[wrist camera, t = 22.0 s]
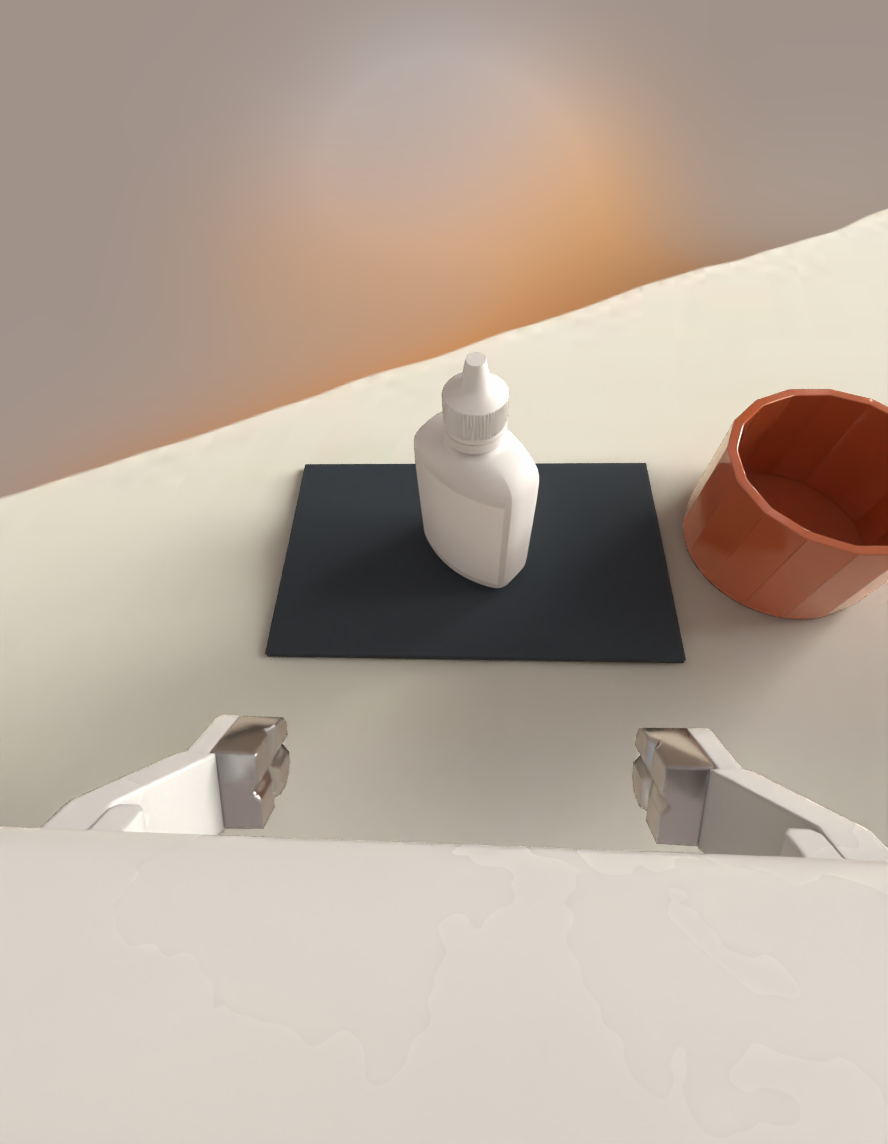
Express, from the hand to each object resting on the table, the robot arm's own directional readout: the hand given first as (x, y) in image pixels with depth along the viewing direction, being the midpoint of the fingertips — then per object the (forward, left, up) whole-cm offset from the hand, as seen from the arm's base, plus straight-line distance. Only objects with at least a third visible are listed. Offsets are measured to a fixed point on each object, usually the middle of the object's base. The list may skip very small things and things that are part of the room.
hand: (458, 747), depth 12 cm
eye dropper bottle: (0, +12, -11) cm, 17 cm away
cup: (+16, +13, -12) cm, 24 cm away
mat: (0, +12, -12) cm, 17 cm away
